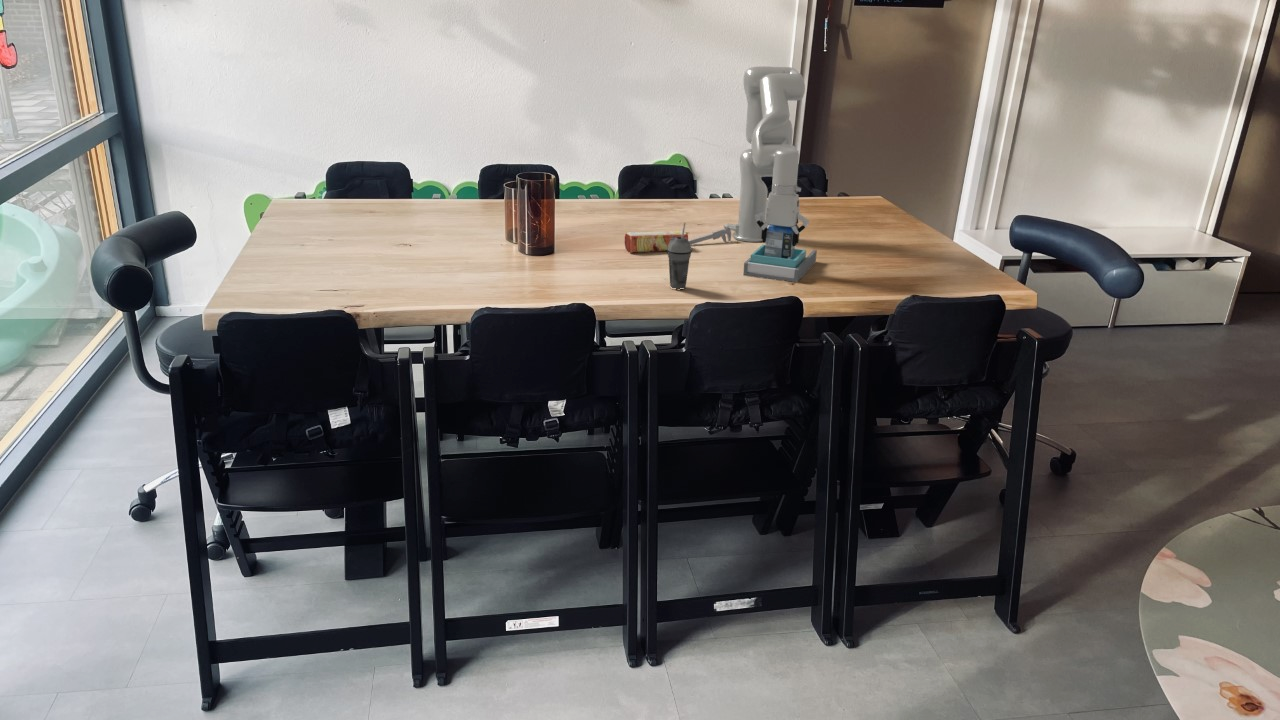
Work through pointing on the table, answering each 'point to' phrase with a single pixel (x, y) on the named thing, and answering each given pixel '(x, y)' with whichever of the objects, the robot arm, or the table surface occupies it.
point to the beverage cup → (679, 261)
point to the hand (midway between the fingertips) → (779, 243)
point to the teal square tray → (768, 260)
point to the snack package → (650, 240)
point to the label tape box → (779, 242)
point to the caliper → (714, 235)
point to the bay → (779, 269)
